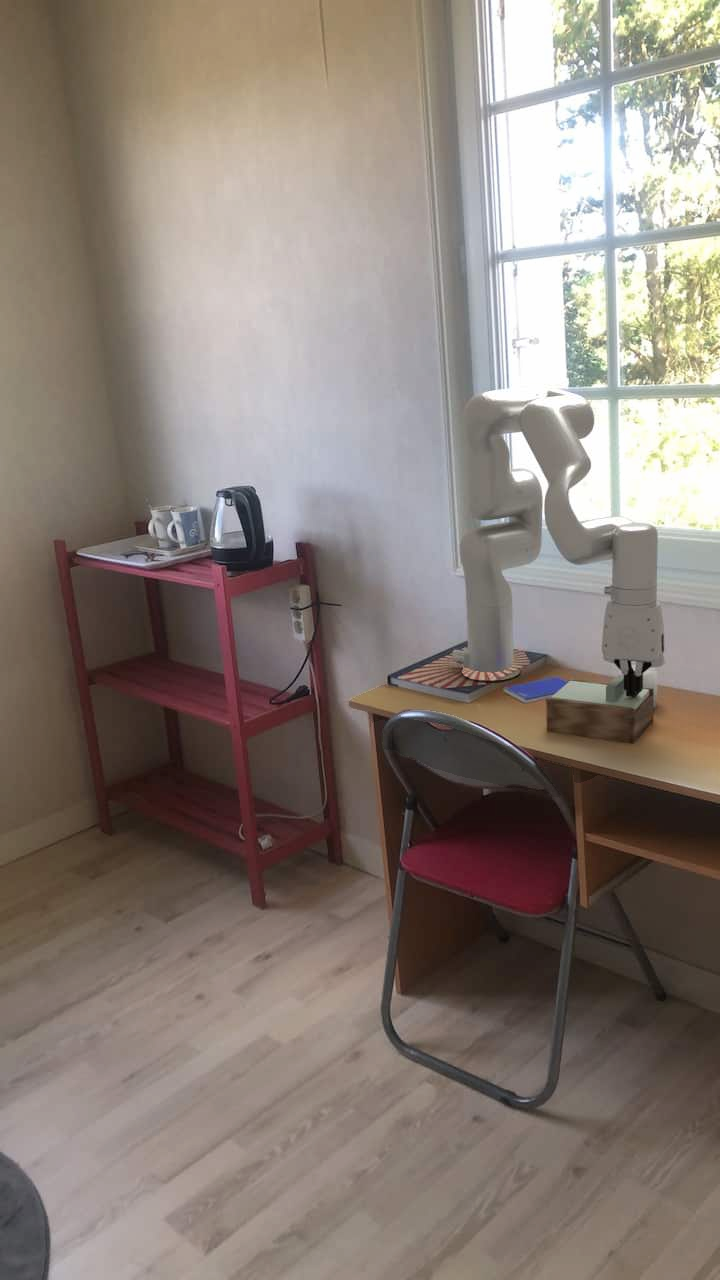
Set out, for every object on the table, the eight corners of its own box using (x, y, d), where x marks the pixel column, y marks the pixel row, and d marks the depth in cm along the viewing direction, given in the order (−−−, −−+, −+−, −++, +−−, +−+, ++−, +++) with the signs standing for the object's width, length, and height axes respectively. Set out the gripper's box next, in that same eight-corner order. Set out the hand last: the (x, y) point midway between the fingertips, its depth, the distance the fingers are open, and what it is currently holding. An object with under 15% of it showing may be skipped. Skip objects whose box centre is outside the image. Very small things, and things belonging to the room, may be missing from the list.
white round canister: (614, 708, 208) (614, 673, 206) (625, 697, 213) (625, 663, 211) (650, 713, 204) (651, 677, 202) (661, 701, 210) (661, 666, 208)
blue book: (525, 698, 213) (578, 686, 218) (503, 686, 220) (555, 675, 225) (525, 705, 214) (578, 694, 218) (503, 693, 221) (555, 683, 225)
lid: (551, 702, 198) (550, 682, 197) (570, 685, 206) (570, 666, 205) (632, 712, 190) (632, 692, 189) (649, 694, 198) (649, 675, 197)
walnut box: (546, 730, 199) (546, 698, 197) (569, 709, 208) (569, 678, 207) (633, 743, 191) (633, 709, 189) (653, 720, 200) (653, 688, 199)
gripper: (585, 597, 190) (585, 696, 195) (671, 603, 183) (669, 706, 188) (599, 587, 196) (599, 683, 201) (683, 593, 189) (680, 693, 194)
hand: (633, 694), depth 195 cm, fingers closed
